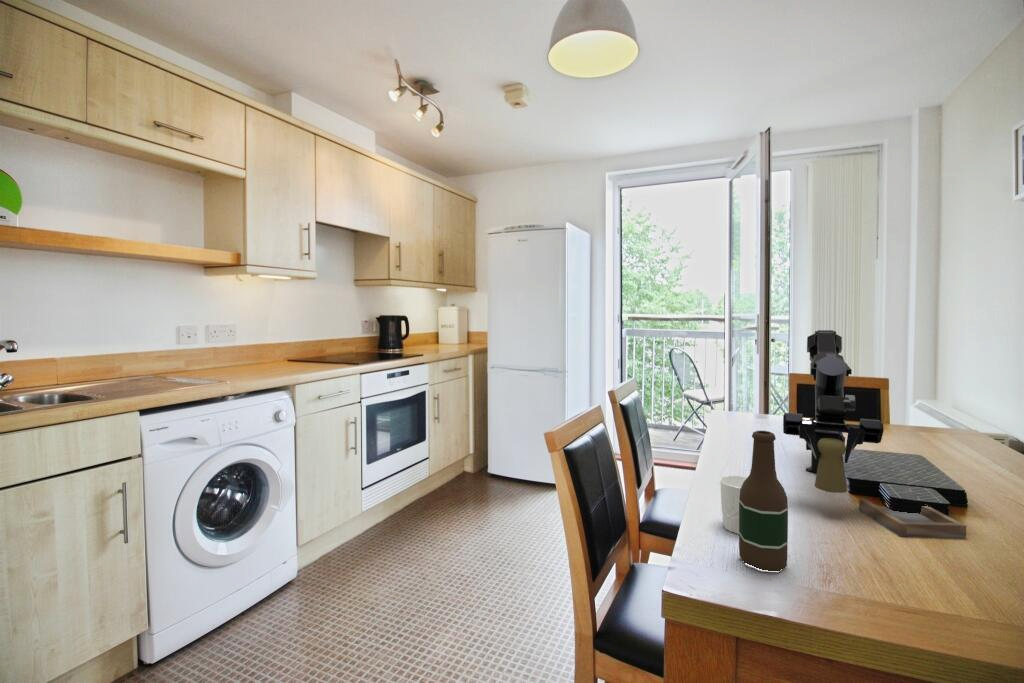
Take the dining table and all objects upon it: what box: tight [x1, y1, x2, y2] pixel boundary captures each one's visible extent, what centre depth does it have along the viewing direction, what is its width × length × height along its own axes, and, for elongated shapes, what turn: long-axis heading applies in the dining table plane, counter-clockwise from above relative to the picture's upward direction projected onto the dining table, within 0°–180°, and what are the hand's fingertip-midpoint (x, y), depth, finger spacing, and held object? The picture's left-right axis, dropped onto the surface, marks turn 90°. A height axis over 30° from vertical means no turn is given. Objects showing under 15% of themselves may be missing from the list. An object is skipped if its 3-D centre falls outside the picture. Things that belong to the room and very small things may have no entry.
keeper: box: [858, 498, 967, 540], centre depth 100 cm, size 13×12×3 cm
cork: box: [814, 438, 848, 494], centre depth 104 cm, size 6×6×11 cm
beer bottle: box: [738, 430, 789, 572], centre depth 85 cm, size 8×8×24 cm
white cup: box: [719, 475, 748, 535], centre depth 99 cm, size 8×8×10 cm
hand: (831, 460), depth 103 cm, fingers closed on cork, 5 cm apart
